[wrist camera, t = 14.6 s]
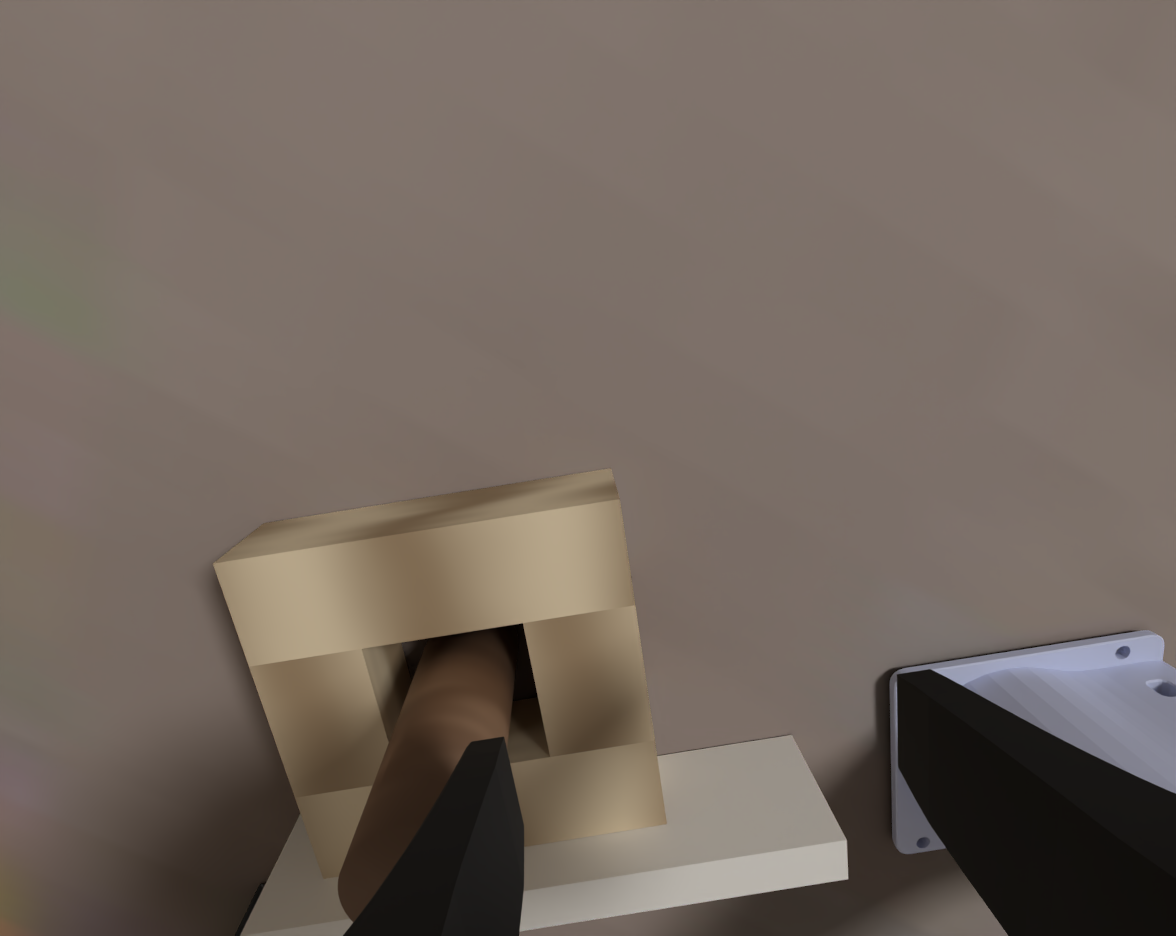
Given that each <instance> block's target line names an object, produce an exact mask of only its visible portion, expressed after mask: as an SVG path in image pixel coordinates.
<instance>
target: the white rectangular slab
mask: <svg viewBox="0 0 1176 936" xmlns="http://www.w3.org/2000/svg"><path fill="white" fill-rule="evenodd" d="M657 759H658V766H659V772H660V779H661V786H662V793H663V800H664V807H665V814H666V821H667V824H665V825H658V826H652V827H646V828H640V829H633V830H627V831H621V832H615V833H608V834H602V835H596V836H589V837H583V838H577V839H571V840H564V841H558V842H552V843H546V844H539V845H533V846H527V847H524V892H523V902H522V911H521V921H520V930H519V931H525V930H532V929H538V928H544V927H550V926H557V925H563V924H569V923H576V922H582V921H588V920H594V919H601V918H607V917H613V916H620V915H626V914H632V913H638V912H645V911H651V910H657V909H664V908H670V907H676V906H683V905H689V904H695V903H701V902H708V901H714V900H720V899H727V898H733V897H739V896H745V895H752V894H758V893H764V892H771V891H777V890H783V889H790V888H796V887H802V886H808V885H815V884H821V883H827V882H834V881H840V880H846V879H848V858H847V840H846V838H845V836H844V834H843V832H842V830H841V828H840V826H839V824H838V822H837V820H836V819H835V817H834V815H833V813H832V811H831V809H830V807H829V805H828V803H827V801H826V799H825V798H824V796H823V794H822V792H821V790H820V788H819V786H818V784H817V782H816V780H815V778H814V777H813V775H812V773H811V771H810V769H809V767H808V765H807V763H806V761H805V759H804V758H803V756H802V754H801V752H800V750H799V748H798V746H797V744H796V742H795V740H794V738H793V737H792V735H787V736H781V737H775V738H768V739H762V740H756V741H749V742H743V743H737V744H730V745H724V746H718V747H711V748H705V749H699V750H693V751H686V752H680V753H674V754H667V755H661V756H657ZM338 878H339V877H333V878H326V879H323V876H322V874H321V871H320V868H319V865H318V862H317V859H316V856H315V854H314V851H313V848H312V845H311V842H310V839H309V836H308V834H307V831H306V828H305V825H304V822H303V819H302V816H301V814H300V815H299V817H298V819H297V821H296V823H295V825H294V827H293V830H292V832H291V834H290V836H289V838H288V840H287V842H286V844H285V846H284V848H283V850H282V852H281V854H280V856H279V858H278V860H277V862H276V864H275V866H274V868H273V870H272V872H271V874H270V876H269V878H268V880H267V882H266V884H265V886H264V888H263V890H262V892H261V894H260V896H259V898H258V900H257V902H256V904H255V906H254V908H253V910H252V912H251V914H250V917H249V919H248V921H247V923H246V925H245V927H244V929H243V931H242V933H241V935H240V936H343V935H344V933H345V932H346V931H347V930H348V928H349V927H350V926H351V925H352V923H353V922H352V921H351V919H350V918H349V917H348V916H347V914H346V913H345V911H344V909H343V907H342V905H341V902H340V899H339V895H338Z"/></svg>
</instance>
